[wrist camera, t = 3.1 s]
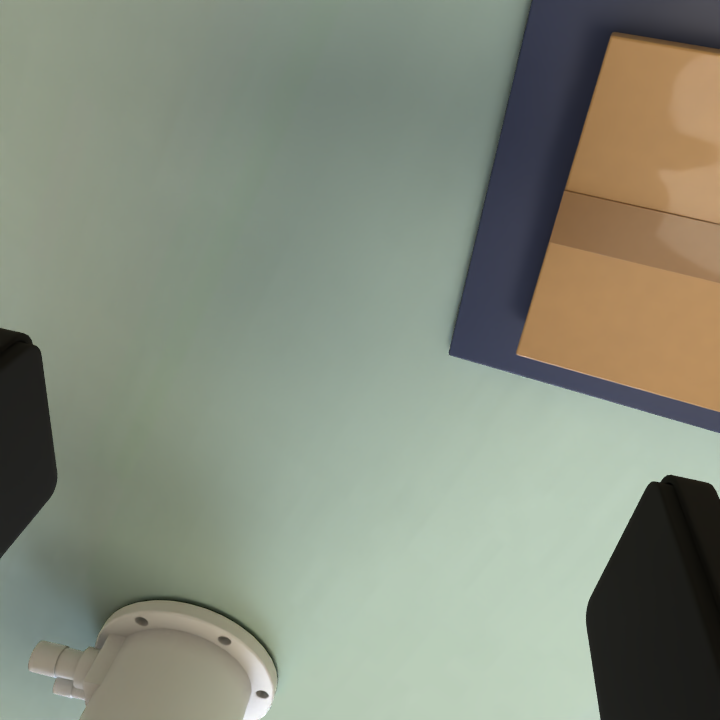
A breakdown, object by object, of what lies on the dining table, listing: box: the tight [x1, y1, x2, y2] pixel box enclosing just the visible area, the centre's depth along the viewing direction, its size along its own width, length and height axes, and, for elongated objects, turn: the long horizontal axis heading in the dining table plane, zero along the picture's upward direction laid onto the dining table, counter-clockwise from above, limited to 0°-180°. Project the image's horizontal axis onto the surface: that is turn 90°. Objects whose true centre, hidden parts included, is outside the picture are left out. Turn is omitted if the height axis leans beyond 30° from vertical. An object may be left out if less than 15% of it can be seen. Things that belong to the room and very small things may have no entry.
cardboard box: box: [516, 32, 720, 412], centre depth 22 cm, size 8×11×3 cm
